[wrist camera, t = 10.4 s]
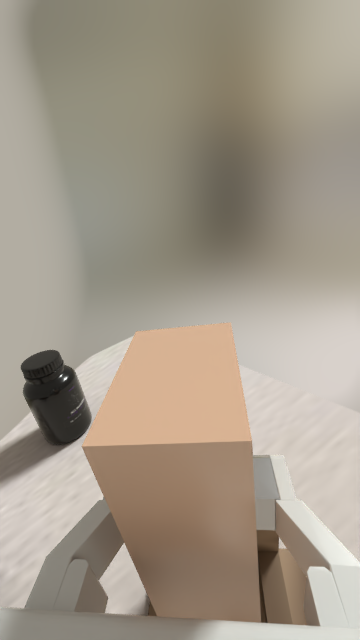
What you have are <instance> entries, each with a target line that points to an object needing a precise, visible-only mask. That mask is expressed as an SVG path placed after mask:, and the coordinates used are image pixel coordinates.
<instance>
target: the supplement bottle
mask: <svg viewBox="0 0 360 640" xmlns="http://www.w3.org/2000/svg"><path fill="white" fill-rule="evenodd" d="M21 370H22V372H23V374H24V378H25V380H26V383H25V385H24V388H23V394H24V397H25V399H26V401H27V404H28V406H29V407H30V409H31V412H32V414H33V416H34V418H35V420H36V422H37V424H38V426H39V428H40V430H41V432H42V434H43V436H44V437H45V439H46V440H47V441H48V442H50V443H52V444H65V443H68V442H71V441H73V440H75V439H77V438H78V437H79V436H81V435H82V434H83V433H84V432H85V431H86V430H87V428H88V427H89V425H90V423H91V418H92V416H91V412H90V409H89V406H88V404H87V401H86V399H85V396H84V393H83V391H82V388H81V385H80V383H79V380H78V377H77V375H76V372H75V371H74V370H73V369H72V368H71V367H69V366H66V365H64V362H63V360H62V358H61V355H60V354H59V352H58V351H55V350H47V351H43V352H40V353H37V354H34V355H33V356H31V357H29V358H27V359H26V360H25V361H24V362H23V363H22V365H21Z"/></svg>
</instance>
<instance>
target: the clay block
mask: <svg viewBox="0 0 360 640" xmlns="http://www.w3.org/2000/svg"><path fill="white" fill-rule="evenodd" d="M82 448H83V450H84V453H85V455H86V457H87V459H88V462H89V464H90V466H91V468H92V471H93V473H94V475H95V477H96V480H97V482H98V484H99V486H100V489H101V491H102V493H103V495H104V498H105V500H106V502H107V504H108V507H109V509H110V511H111V513H112V516H113V518H114V520H115V522H116V525H117V527H118V529H119V531H120V534H121V536H122V538H123V540H124V543H125V545H126V547H127V549H128V552H129V554H130V556H131V558H132V561H133V563H134V565H135V567H136V570H137V572H138V574H139V576H140V579H141V581H142V583H143V585H144V588H145V590H146V592H147V594H148V597H149V599H150V601H151V603H152V606H153V608H154V610H155V612H156V615H157V616H159V617H175V618H192V619H209V620H225V621H242V622H258V623H261V610H260V590H259V570H258V551H257V531H256V511H255V491H254V471H253V452H252V438H251V433H250V427H249V422H248V416H247V411H246V405H245V399H244V394H243V388H242V383H241V377H240V372H239V366H238V360H237V356H236V349H235V344H234V339H233V333H232V327H231V323H220V324H210V325H200V326H189V327H178V328H168V329H157V330H146V331H136V333H135V335H134V337H133V339H132V341H131V343H130V346H129V348H128V350H127V352H126V354H125V356H124V358H123V360H122V362H121V365H120V367H119V369H118V371H117V373H116V375H115V377H114V379H113V381H112V384H111V386H110V388H109V390H108V392H107V394H106V396H105V398H104V401H103V403H102V405H101V407H100V409H99V411H98V413H97V415H96V417H95V420H94V422H93V424H92V426H91V428H90V430H89V432H88V434H87V436H86V439H85V441H84V443H83V445H82Z"/></svg>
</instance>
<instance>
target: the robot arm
mask: <svg viewBox="0 0 360 640" xmlns="http://www.w3.org/2000/svg"><path fill="white" fill-rule="evenodd" d="M253 471H254V491H255V511H256V530H276V533H277V535H278V536H279V537H280V539H281V540H282V542H283V543H284V545H285V546H286V548H287V549H288V551H289V552H290V553H291V555H292V556H293V558H294V559H295V561H296V562H297V564H298V565H299V567H300V568H301V570H302V571H303V572H304V574H305V575H306V587H305V596H304V605H303V609H304V613H305V618H306V622H307V625H291V624H275V623H258V622H242V621H225V620H209V619H192V618H175V617H159V616H142V615H126V614H109V613H105V609H106V605H107V600H108V596H107V594H106V592H105V590H104V589H103V587H102V585H101V584H100V582H99V579H100V578H101V576H102V575H103V573H104V572H105V570H106V569H107V567H108V566H109V564H110V563H111V561H112V560H113V558H114V557H115V555H116V554H117V552H118V551H119V549H120V548H121V546H122V545H123V543H124V540H123V538H122V536H121V534H120V531H119V529H118V527H117V525H116V522H115V520H114V518H113V516H112V513H111V511H110V509H109V507H108V504H107V502H106V500H105V498H104V497H103V500H99V501H98V502H97V503H96V504H95V505H94V506H93V507H92V508H91V510H90V511H89V512H88V513H87V514H86V515H85V516H84V517H83V518H82V519H81V520H80V521H79V522H78V523H77V525H76V526H75V527H74V528H73V529H72V530H71V531H70V532H69V533H68V534H67V535H66V536H65V537H64V539H63V540H62V541H61V542H60V543H59V544H58V545H57V546H56V547H55V548H54V549H53V550H52V551H51V552H50V554H49V555H48V556H47V557H46V559H45V561H44V564H43V566H42V568H41V571H40V573H39V575H38V577H37V580H36V582H35V584H34V587H33V589H32V591H31V594H30V596H29V598H28V601H27V603H26V605H25V608H9V607H0V640H360V562H359V561H358V560H357V559H356V558H355V557H354V556H353V555H352V554H351V553H350V552H349V551H348V549H347V548H346V547H345V546H344V545H343V544H342V543H341V542H340V541H339V540H338V539H337V538H336V537H335V536H334V534H333V533H332V532H331V531H330V530H329V529H328V528H327V527H326V526H325V525H324V524H323V523H322V522H321V520H320V519H319V518H318V517H317V516H316V515H315V514H314V513H313V512H312V511H311V510H310V509H309V508H308V507H307V505H306V504H305V503H304V502H303V501H302V500H297V499H296V495H295V492H294V488H293V485H292V481H291V478H290V475H289V471H288V468H287V464H286V461H285V458H284V456H283V455H254V456H253Z"/></svg>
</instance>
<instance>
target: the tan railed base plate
mask: <svg viewBox="0 0 360 640" xmlns="http://www.w3.org/2000/svg"><path fill="white" fill-rule="evenodd" d="M256 531H257V551H258V570H259V590H260V610H261V623H275V624H291V625H307V622H306V618H305V613H304V609H303V605H304V596H305V587H306V575H305V574H304V572H303V571H302V570H301V568H300V567H299V565H298V564H297V562H296V561H295V559H294V558H293V556H292V555H291V553H290V552H289V551H288V549H279V536H278V535H277V533H276V530H256ZM148 616H157V615H156V612H155V610H154V608H153V606H152V603H151V601H150V605H149V612H148Z"/></svg>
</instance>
